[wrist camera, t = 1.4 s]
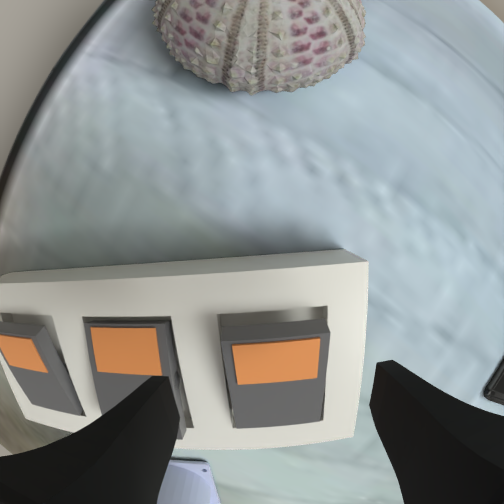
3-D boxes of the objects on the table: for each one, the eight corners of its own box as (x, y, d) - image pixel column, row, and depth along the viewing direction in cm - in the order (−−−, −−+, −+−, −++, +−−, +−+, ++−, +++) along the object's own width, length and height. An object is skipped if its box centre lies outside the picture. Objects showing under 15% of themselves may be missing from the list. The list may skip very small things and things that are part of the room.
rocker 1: (86, 401, 17) (79, 417, 16) (39, 392, 17) (31, 405, 16) (47, 322, 15) (34, 337, 13) (0, 318, 15) (-12, 331, 13)
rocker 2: (315, 403, 17) (320, 422, 15) (237, 410, 17) (236, 430, 16) (323, 314, 14) (331, 333, 13) (222, 322, 15) (220, 343, 13)
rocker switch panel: (338, 402, 20) (353, 436, 16) (48, 395, 21) (25, 418, 17) (344, 249, 19) (368, 261, 14) (11, 272, 19) (-22, 284, 15)
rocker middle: (187, 427, 16) (182, 440, 14) (115, 421, 16) (105, 432, 14) (172, 318, 16) (163, 324, 14) (96, 319, 16) (82, 323, 14)
